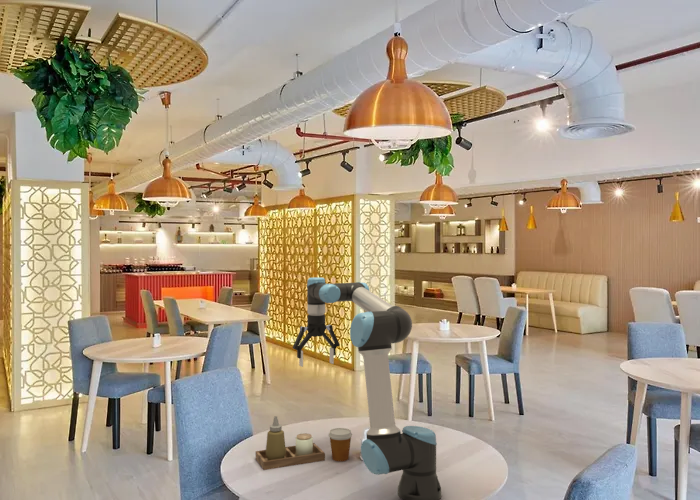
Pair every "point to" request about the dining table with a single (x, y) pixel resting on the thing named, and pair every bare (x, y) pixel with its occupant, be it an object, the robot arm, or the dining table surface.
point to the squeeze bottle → (275, 441)
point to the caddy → (290, 458)
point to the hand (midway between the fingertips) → (316, 364)
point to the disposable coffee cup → (340, 443)
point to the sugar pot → (304, 444)
